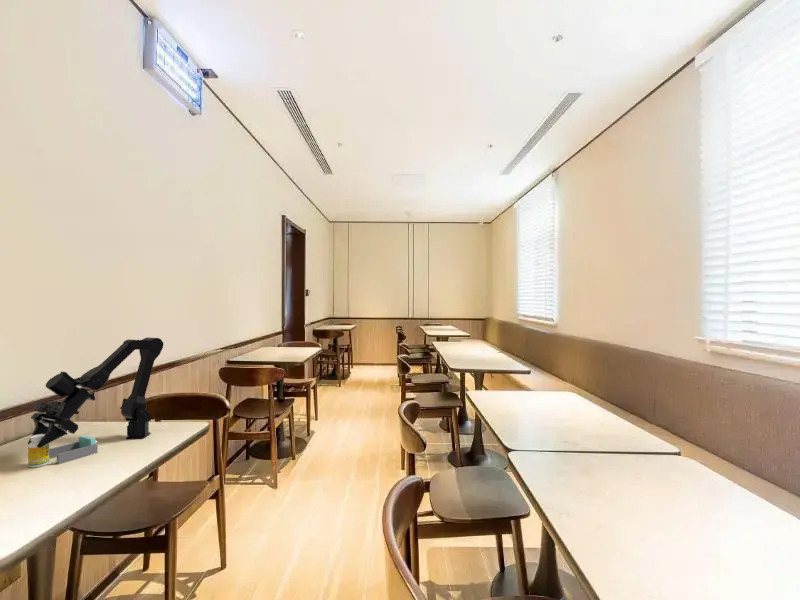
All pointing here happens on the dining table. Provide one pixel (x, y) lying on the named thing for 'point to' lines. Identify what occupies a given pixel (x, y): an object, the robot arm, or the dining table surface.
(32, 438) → the supplement bottle
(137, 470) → the dining table surface
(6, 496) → the dining table surface
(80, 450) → the lane
